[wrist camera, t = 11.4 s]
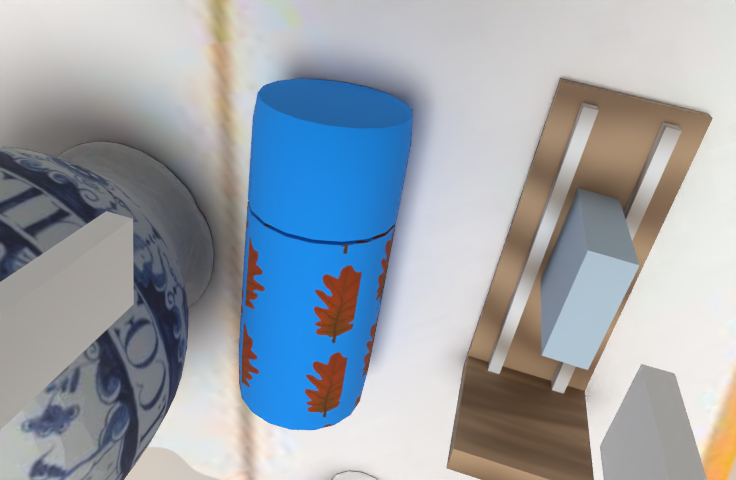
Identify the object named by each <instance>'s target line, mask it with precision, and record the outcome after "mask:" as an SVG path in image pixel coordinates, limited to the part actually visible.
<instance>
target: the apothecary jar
mask: <svg viewBox="0 0 736 480" xmlns="http://www.w3.org/2000/svg"><path fill="white" fill-rule="evenodd" d="M106 211H108V212H111V213H115V214H118V215H122V216H125V217H129V218H132V219H133V283H134V304H133V305H132V306H131V307H130V308H129V309H128V310H127V311H126V312H125V313H124V314H123V315H122V316H121V317H120V318H119V319H117V320H116V321H115V322H114V323H113V324H112V325H111V326H110V327H109V328H108V329H107V330H106V331H105V332H104V333H103V334H102V335H101V336H99V337H98V338H97V339H96V340H95V341H94V342H93V343H92V344H91V345H90V346H89V347H88V348H87V349H86V350H85V351H84V352H82V353H81V354H80V355H79V356H78V357H77V358H76V359H75V360H74V361H73V362H72V363H71V364H70V365H69V366H68V367H67V368H66V369H64V370H63V371H62V372H61V373H60V374H59V375H58V376H57V377H56V378H55V379H54V380H53V381H52V382H51V383H50V384H49V385H48V386H46V387H45V388H44V389H43V390H42V391H41V392H40V393H39V394H38V395H37V396H36V397H35V398H34V399H33V400H32V401H31V402H29V403H28V404H27V405H26V406H25V407H24V408H23V409H22V410H21V411H20V412H19V413H18V414H17V415H16V416H15V417H14V418H13V419H11V420H10V421H9V422H8V423H7V424H6V425H5V426H4V427H3V428H2V429H1V430H0V480H124V478H125V477H126V476H127V474H128V473H129V472H130V470H131V469H132V468H133V466H134V465H135V464H136V462H137V461H138V459H139V458H140V457H141V455H142V453H143V452H144V451H145V449H146V448H147V446H148V445H149V443H150V442H151V440H152V438H153V437H154V435H155V433H156V431H157V430H158V428H159V426H160V424H161V423H162V421H163V419H164V417H165V416H166V414H167V412H168V410H169V408H170V405H171V403H172V401H173V399H174V397H175V394H176V391H177V388H178V385H179V382H180V380H181V377H182V371H183V366H184V361H185V355H186V350H187V338H188V307H189V306H191V305H192V304H193V303H194V302H195V301H196V300H197V299H198V298H199V297H200V296H201V295H202V294H203V293H204V292H205V290H206V288H207V286H208V283H209V281H210V277H211V274H212V268H213V260H214V256H213V243H212V238H211V233H210V229H209V227H208V225H207V222H206V220H205V218H204V216H203V215H202V214H201V212H200V211H199V209H198V208H197V206H196V203H195V200H194V197H193V196H192V194H191V193H190V192H189V191H188V189H187V188H186V187H185V186H184V185H183V184H182V183H181V181H180V180H179V179H178V178H177V177H176V176H175V175H174V174H173V173H172V172H171V171H170V170H169V169H168V168H167V167H166V166H165V165H163V164H162V163H160V162H158V161H157V160H155V159H153V158H152V157H150V156H149V155H147V154H145V153H144V152H142V151H140V150H137V149H134V148H131V147H128V146H126V145H123V144H120V143H112V142H104V141H101V142H89V143H84V144H80V145H77V146H75V147H73V148H71V149H68V150H66V151H64V152H63V153H62V154H60V155H59V156H58V157H55V156H51V155H47V154H42V153H38V152H34V151H30V150H26V149H21V148H11V147H0V282H1V281H3V280H4V279H6V278H7V277H9V276H10V275H12V274H13V273H15V272H16V271H18V270H19V269H21V268H22V267H24V266H25V265H27V264H28V263H30V262H31V261H33V260H34V259H36V258H37V257H39V256H40V255H42V254H43V253H45V252H46V251H48V250H49V249H51V248H52V247H54V246H55V245H57V244H58V243H60V242H61V241H63V240H64V239H66V238H67V237H69V236H70V235H71V234H73V233H74V232H76V231H77V230H79V229H80V228H82V227H83V226H85V225H86V224H88V223H89V222H91V221H92V220H94V219H95V218H97V217H98V216H100V215H101V214H103V213H104V212H106Z"/></svg>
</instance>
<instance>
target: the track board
mask: <svg viewBox="0 0 736 480" xmlns="http://www.w3.org/2000/svg"><path fill="white" fill-rule="evenodd" d="M711 120H712V117H711V116H710V115H709V114H705V113H701V112H697V111H693V110H689V109H685V108H681V107H676V106H672V105H668V104H664V103H660V102H656V101H652V100H648V99H643V98H639V97H635V96H631V95H627V94H623V93H619V92H614V91H610V90H606V89H602V88H598V87H594V86H590V85H586V84H581V83H577V82H573V81H569V80H565V79H561V78H560V81H559V84H558V87H557V90H556V93H555V96H554V99H553V102H552V105H551V108H550V111H549V114H548V117H547V120H546V123H545V126H544V129H543V132H542V135H541V137H540V140H539V143H538V146H537V149H536V152H535V155H534V158H533V161H532V164H531V167H530V170H529V173H528V176H527V179H526V182H525V185H524V188H523V191H522V194H521V197H520V200H519V203H518V206H517V209H516V212H515V215H514V218H513V221H512V224H511V227H510V230H509V233H508V236H507V239H506V242H505V244H504V247H503V250H502V253H501V256H500V259H499V262H498V265H497V268H496V271H495V274H494V277H493V280H492V283H491V286H490V289H489V292H488V295H487V298H486V301H485V304H484V307H483V310H482V313H481V316H480V319H479V322H478V325H477V328H476V331H475V334H474V337H473V340H472V343H471V346H470V348H469V351H468V354H467V357H466V360H465V363H464V366H463V372H462V378H461V384H460V390H459V396H458V402H457V408H456V414H455V420H454V426H453V432H452V439H451V445H450V451H449V457H448V463H447V468H448V469H451V470H454V471H457V472H460V473H463V474H466V475H469V476H472V477H475V478H478V479H481V480H594V477H593V468H592V458H591V449H590V439H589V429H588V420H587V410H586V401H585V389H586V387H587V384H588V382H589V380H590V378H591V376H592V374H593V372H594V370H595V367H596V365H597V363H598V361H599V359H600V357H601V355H602V352H603V350H604V348H605V346H606V344H607V342H608V340H609V338H610V335H611V333H612V331H613V329H614V327H615V325H616V323H617V321H618V318H619V316H620V314H621V312H622V310H623V308H624V306H625V303H626V301H627V299H628V297H629V295H630V293H631V291H632V289H633V286H634V284H635V282H636V280H637V278H638V276H639V274H640V272H641V269H642V267H643V265H644V263H645V261H646V259H647V257H648V255H649V252H650V250H651V248H652V246H653V244H654V242H655V240H656V237H657V235H658V233H659V231H660V229H661V227H662V225H663V223H664V220H665V218H666V216H667V214H668V212H669V210H670V208H671V206H672V203H673V201H674V199H675V197H676V195H677V193H678V191H679V188H680V186H681V184H682V182H683V180H684V178H685V176H686V174H687V171H688V169H689V167H690V165H691V163H692V161H693V159H694V157H695V154H696V152H697V150H698V148H699V146H700V144H701V142H702V139H703V137H704V135H705V133H706V131H707V129H708V127H709V125H710V122H711ZM578 188H580V189H583V190H587V191H590V192H594V193H597V194H601V195H604V196H608V197H611V198H615V199H619V200H620V203H621V206H622V210H623V213H624V216H625V220H626V223H627V226H628V229H629V233H630V236H631V239H632V242H633V246H634V249H635V252H636V255H637V259H638V262H639V265H640V266H639V268H638V270H637V272H636V274H635V276H634V278H633V280H632V282H631V284H630V286H629V288H628V290H627V292H626V294H625V296H624V298H623V300H622V302H621V304H620V306H619V308H618V310H617V312H616V314H615V316H614V318H613V320H612V322H611V324H610V326H609V328H608V330H607V332H606V334H605V336H604V338H603V340H602V342H601V345H600V347H599V349H598V351H597V353H596V355H595V357H594V359H593V361H592V363H591V365H590V367H589V369H588V370H586V369H583V368H580V367H576V366H573V365H570V364H567V363H564V362H561V361H557V360H554V359H551V358H548V357H545V356H542V345H541V277H542V275H543V272H544V270H545V268H546V265H547V263H548V260H549V258H550V255H551V253H552V250H553V248H554V246H555V243H556V241H557V238H558V236H559V233H560V231H561V228H562V226H563V223H564V221H565V219H566V216H567V214H568V211H569V209H570V206H571V204H572V201H573V199H574V197H575V194H576V192H577V189H578Z"/></svg>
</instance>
